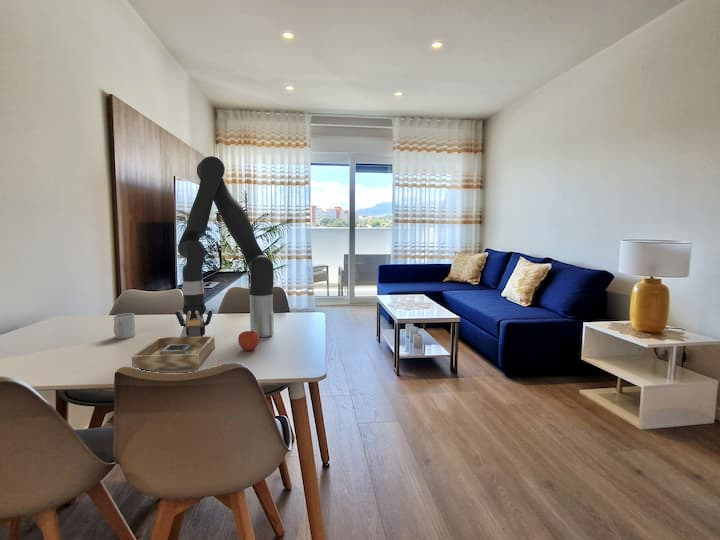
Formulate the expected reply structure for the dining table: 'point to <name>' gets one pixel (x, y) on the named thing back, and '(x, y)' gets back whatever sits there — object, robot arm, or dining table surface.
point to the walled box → (154, 361)
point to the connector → (194, 327)
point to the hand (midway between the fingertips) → (195, 336)
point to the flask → (184, 331)
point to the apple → (248, 340)
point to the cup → (124, 325)
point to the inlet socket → (177, 349)
